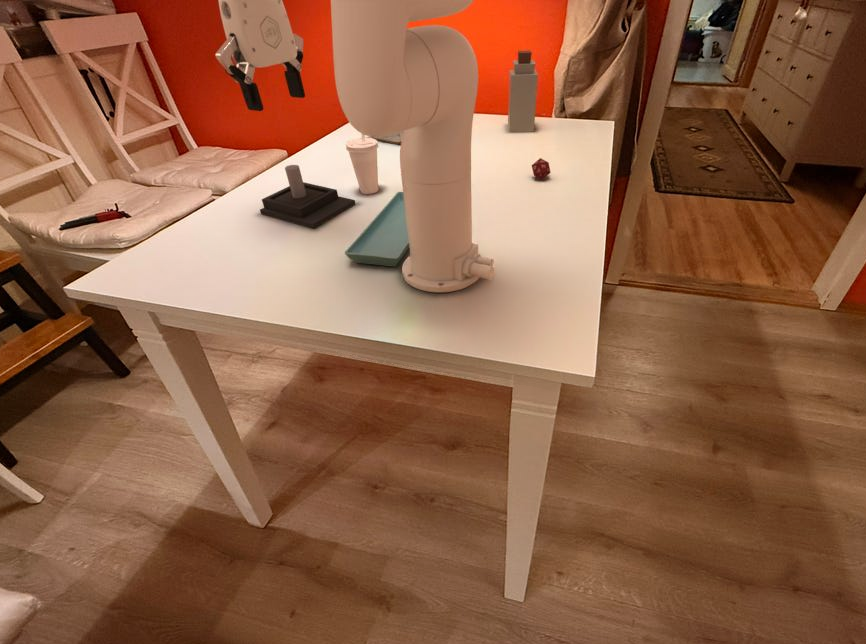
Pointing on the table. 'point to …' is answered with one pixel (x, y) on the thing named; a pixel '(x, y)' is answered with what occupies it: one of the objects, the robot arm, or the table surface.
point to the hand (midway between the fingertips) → (277, 103)
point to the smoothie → (364, 163)
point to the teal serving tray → (383, 236)
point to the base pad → (307, 207)
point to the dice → (541, 169)
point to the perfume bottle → (522, 94)
